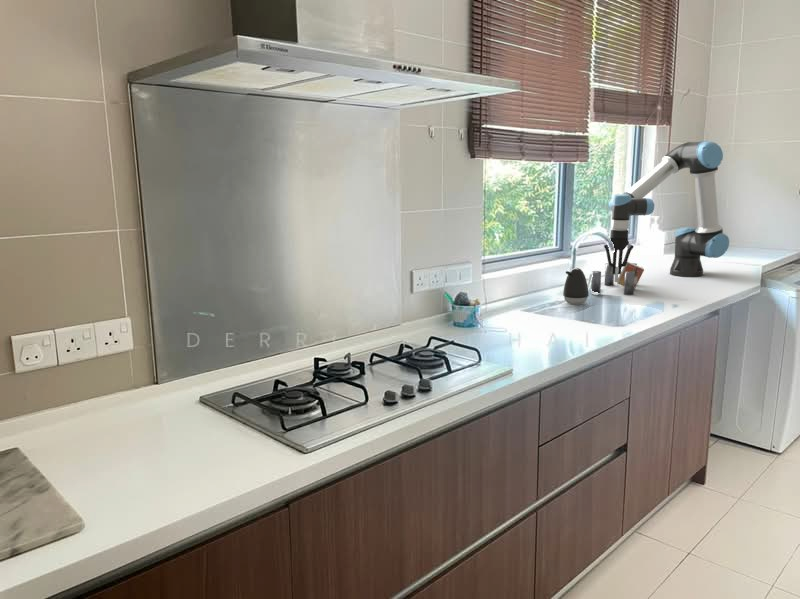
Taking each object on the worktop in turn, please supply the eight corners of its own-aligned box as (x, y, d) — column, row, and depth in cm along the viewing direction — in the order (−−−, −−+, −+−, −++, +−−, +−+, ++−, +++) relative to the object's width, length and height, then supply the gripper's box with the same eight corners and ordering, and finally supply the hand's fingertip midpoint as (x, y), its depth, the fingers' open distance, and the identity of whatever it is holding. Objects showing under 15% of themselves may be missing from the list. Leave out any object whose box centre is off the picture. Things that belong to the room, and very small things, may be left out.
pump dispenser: (557, 303, 269) (558, 267, 266) (577, 299, 273) (577, 264, 270) (573, 307, 260) (574, 271, 257) (593, 304, 264) (594, 268, 261)
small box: (616, 284, 287) (627, 262, 284) (616, 281, 292) (626, 260, 289) (634, 290, 286) (644, 269, 283) (632, 288, 291) (643, 267, 288)
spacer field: (635, 284, 300) (636, 263, 298) (644, 295, 277) (645, 272, 275) (586, 284, 304) (587, 263, 302) (591, 295, 281) (592, 272, 279)
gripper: (633, 228, 287) (629, 280, 292) (603, 228, 289) (600, 279, 294) (636, 230, 279) (631, 283, 285) (605, 230, 282) (601, 282, 287)
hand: (615, 281), depth 289 cm, fingers closed
